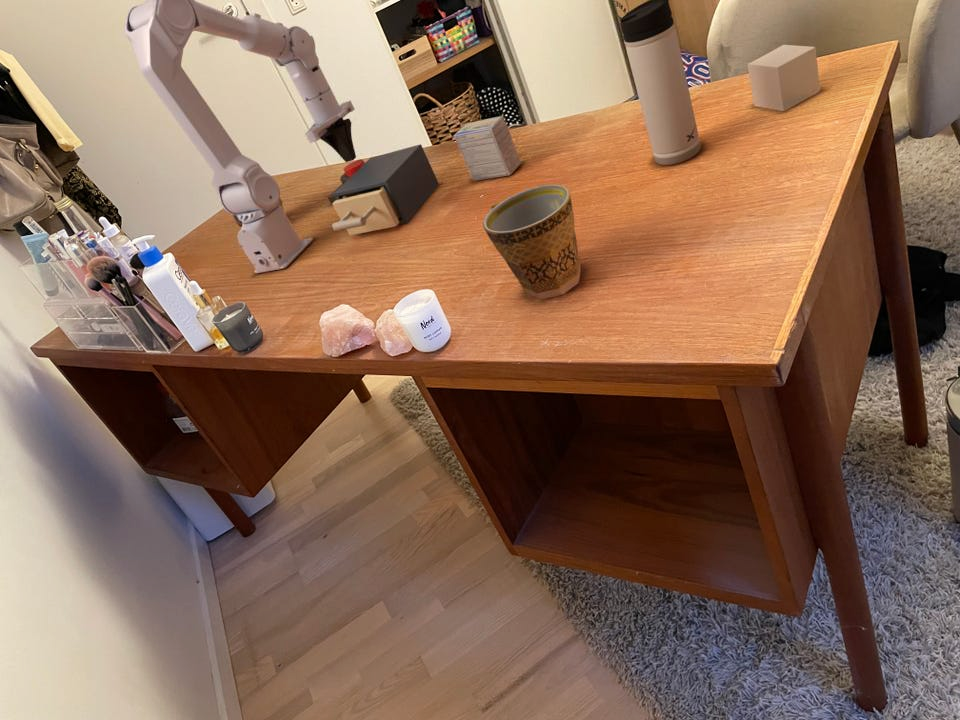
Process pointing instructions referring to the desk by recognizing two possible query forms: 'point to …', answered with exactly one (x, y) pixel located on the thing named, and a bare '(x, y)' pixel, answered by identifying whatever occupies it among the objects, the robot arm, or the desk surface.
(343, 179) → the button block
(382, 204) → the drawer
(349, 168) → the button
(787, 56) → the pinkish grey cube
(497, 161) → the paper stack
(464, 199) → the desk surface
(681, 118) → the travel mug
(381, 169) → the cabinet
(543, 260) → the ceramic cup
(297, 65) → the robot arm
